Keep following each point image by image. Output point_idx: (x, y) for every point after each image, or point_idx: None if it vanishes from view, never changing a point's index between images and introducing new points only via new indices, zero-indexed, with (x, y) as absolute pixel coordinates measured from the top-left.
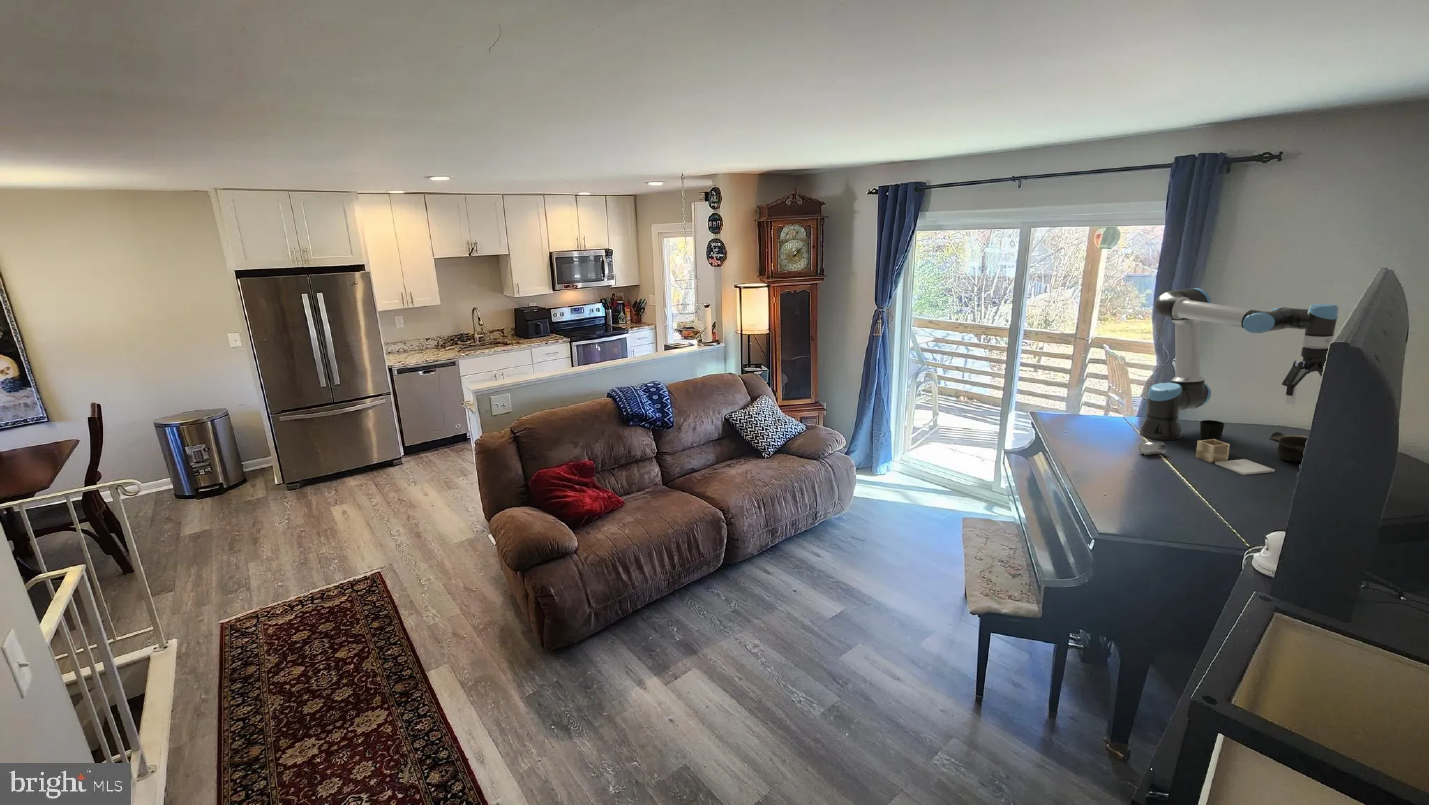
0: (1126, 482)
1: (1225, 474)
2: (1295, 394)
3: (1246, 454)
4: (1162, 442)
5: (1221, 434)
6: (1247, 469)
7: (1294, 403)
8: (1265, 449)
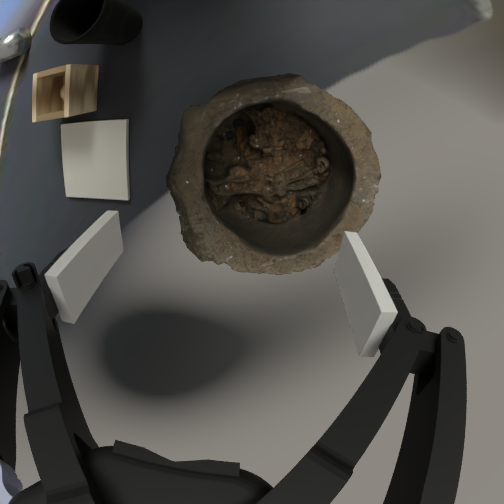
0: None
1: (47, 182)
2: (91, 289)
3: (175, 76)
4: (10, 45)
5: (105, 36)
6: (83, 182)
7: (119, 254)
8: (261, 59)
